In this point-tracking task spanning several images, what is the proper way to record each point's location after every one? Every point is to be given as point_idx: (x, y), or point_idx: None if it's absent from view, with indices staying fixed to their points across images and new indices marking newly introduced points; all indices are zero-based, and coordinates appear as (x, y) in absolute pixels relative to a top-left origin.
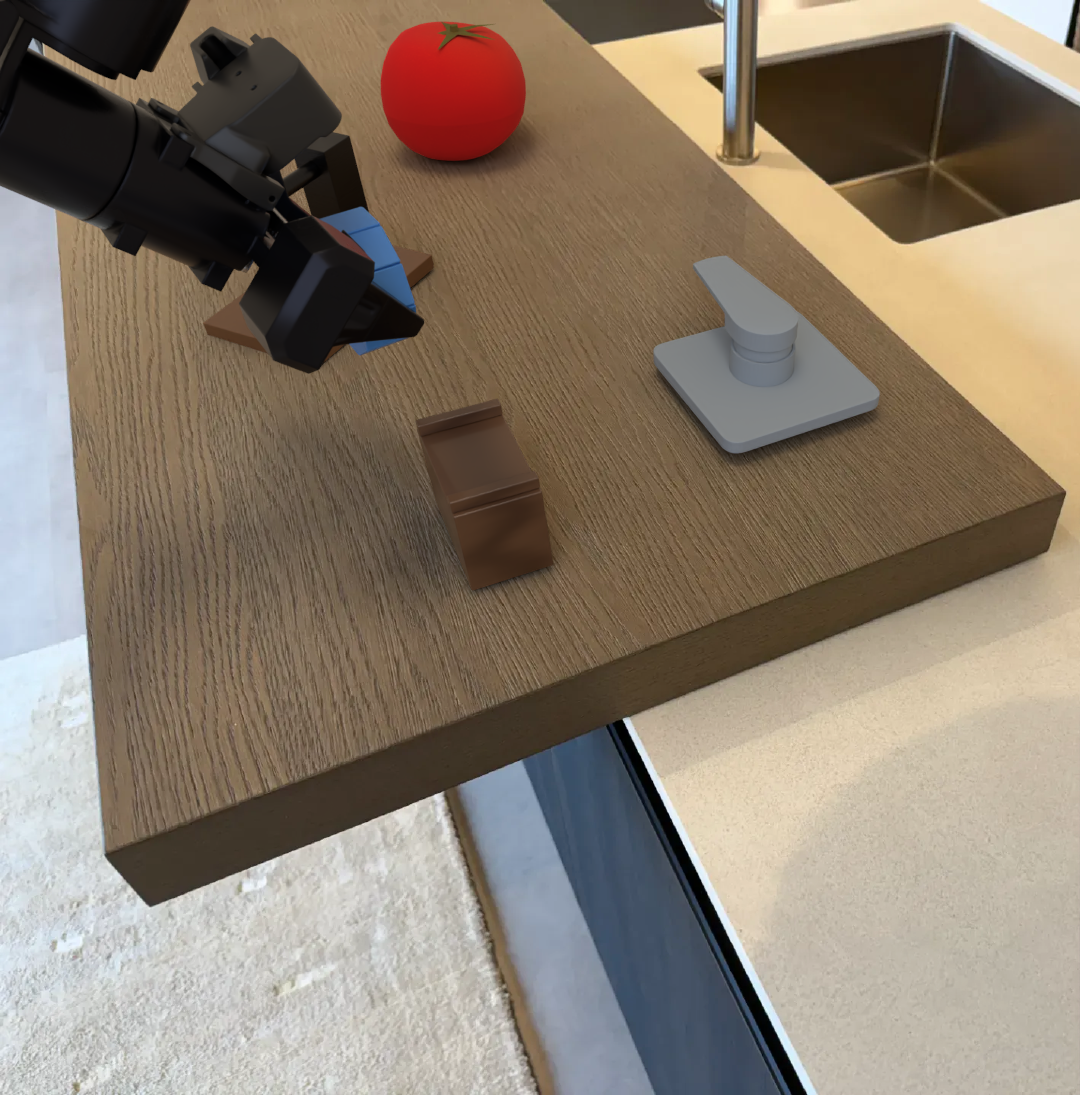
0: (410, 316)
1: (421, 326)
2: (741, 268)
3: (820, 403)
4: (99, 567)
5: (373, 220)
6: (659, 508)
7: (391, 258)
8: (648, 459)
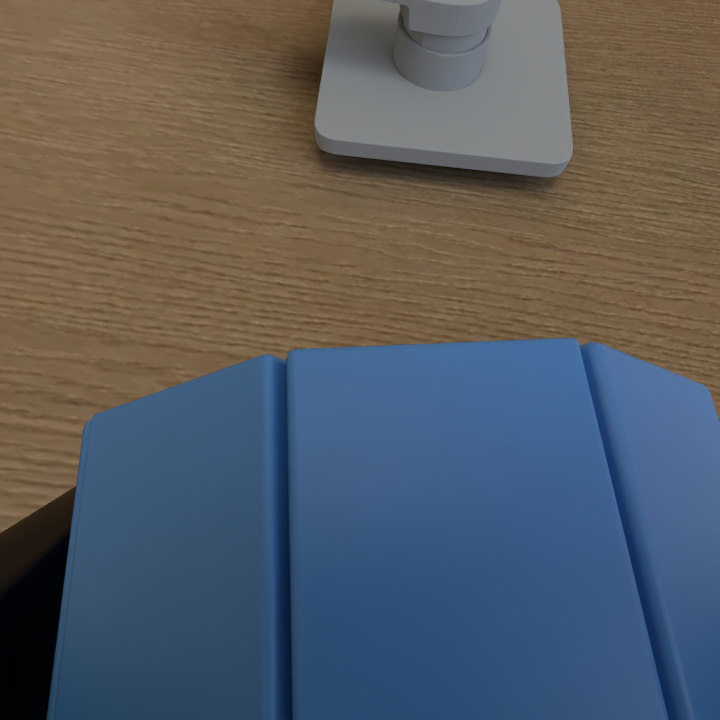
0: None
1: None
2: None
3: (540, 49)
4: None
5: (531, 358)
6: (583, 298)
7: (713, 418)
8: (485, 261)
